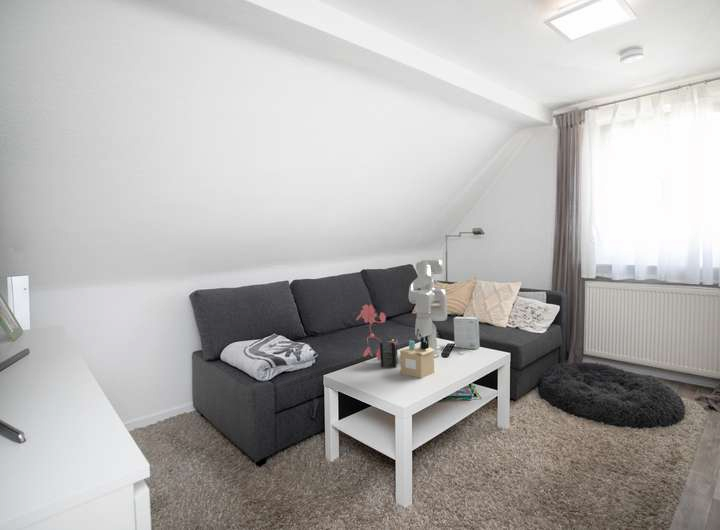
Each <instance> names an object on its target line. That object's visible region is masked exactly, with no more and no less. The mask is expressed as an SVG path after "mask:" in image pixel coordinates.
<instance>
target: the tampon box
mask: <svg viewBox="0 0 720 530" xmlns="http://www.w3.org/2000/svg"><path fill="white" fill-rule="evenodd" d="M379 347H380V357H381V359H380V368H397V366H398V363H399V359H398V338H382V340H381V342H380V341H379Z"/></svg>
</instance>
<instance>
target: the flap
mask: <svg viewBox="0 0 720 530" xmlns="http://www.w3.org/2000/svg"><path fill="white" fill-rule="evenodd" d="M425 342H426V345H427V341H425ZM419 344H420V345H419V348H416V349H414V351H416V352H417V353H419V354H421V355H422V356H423V355H426V354H428V353H431V352H434V351H435V350H434V349H432V348H430V347H429V348H428V349H427V348H426V349H421V343H419Z"/></svg>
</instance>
